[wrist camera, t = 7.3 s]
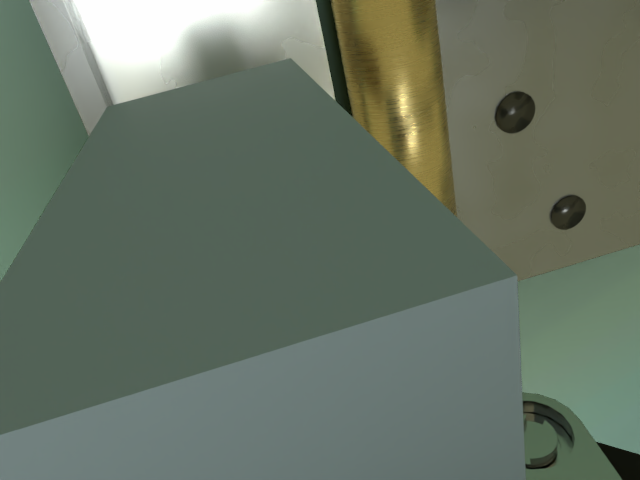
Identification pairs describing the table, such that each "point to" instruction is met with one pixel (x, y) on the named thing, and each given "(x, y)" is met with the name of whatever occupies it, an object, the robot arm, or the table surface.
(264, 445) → the grey block
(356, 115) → the hinge base
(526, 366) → the table surface
